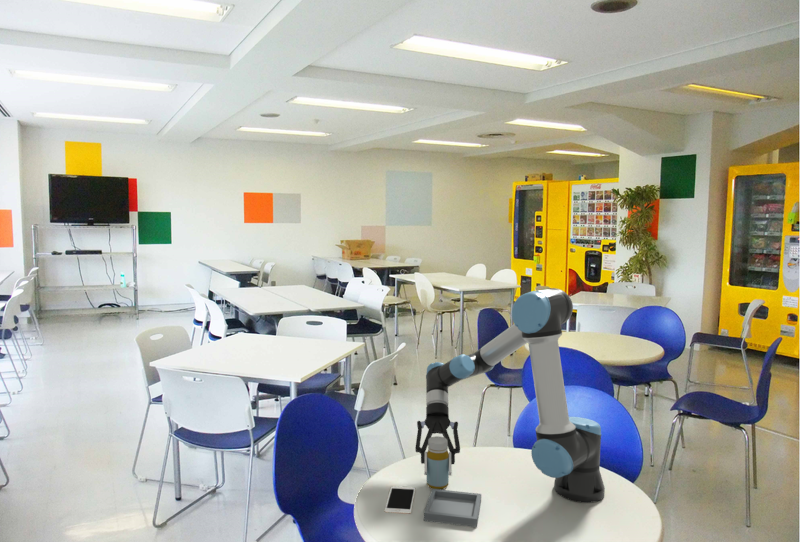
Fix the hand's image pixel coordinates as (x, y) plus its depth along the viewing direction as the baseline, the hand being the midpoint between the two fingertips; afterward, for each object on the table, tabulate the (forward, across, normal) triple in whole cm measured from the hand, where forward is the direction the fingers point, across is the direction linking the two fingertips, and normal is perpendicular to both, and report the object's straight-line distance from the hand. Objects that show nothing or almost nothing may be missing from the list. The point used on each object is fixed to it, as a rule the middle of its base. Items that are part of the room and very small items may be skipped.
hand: (437, 473), depth 182 cm
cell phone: (+9, +11, 0) cm, 14 cm away
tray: (+13, -4, +5) cm, 14 cm away
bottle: (+2, 0, -6) cm, 7 cm away
